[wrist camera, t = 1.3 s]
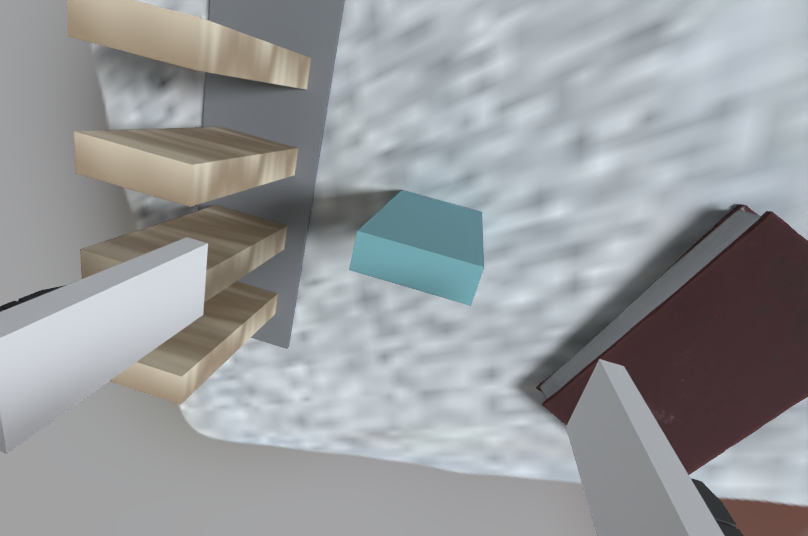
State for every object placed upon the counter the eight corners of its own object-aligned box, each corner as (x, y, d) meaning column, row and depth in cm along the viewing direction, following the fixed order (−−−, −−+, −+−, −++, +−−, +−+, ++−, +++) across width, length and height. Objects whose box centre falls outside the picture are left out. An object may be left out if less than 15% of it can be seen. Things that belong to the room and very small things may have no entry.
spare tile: (401, 189, 30) (357, 230, 19) (481, 212, 30) (484, 267, 19) (395, 215, 31) (349, 269, 20) (473, 237, 31) (470, 305, 19)
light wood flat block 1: (228, 36, 28) (65, -17, 17) (311, 58, 28) (199, 17, 17) (226, 68, 29) (68, 36, 18) (306, 89, 29) (196, 70, 17)
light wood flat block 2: (216, 205, 33) (80, 249, 22) (287, 225, 32) (186, 281, 21) (214, 228, 33) (82, 283, 22) (284, 249, 33) (184, 315, 22)
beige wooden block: (221, 127, 30) (73, 131, 19) (298, 148, 30) (192, 164, 19) (219, 154, 31) (76, 173, 20) (294, 175, 31) (189, 206, 20)
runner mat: (219, -110, 26) (216, -114, 25) (357, -78, 25) (355, -81, 25) (194, 316, 37) (192, 318, 37) (288, 346, 36) (286, 348, 36)
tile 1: (211, 273, 35) (85, 345, 24) (277, 293, 34) (181, 376, 23) (209, 294, 36) (87, 373, 24) (275, 314, 35) (180, 404, 24)
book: (876, 312, 28) (924, 335, 25) (649, 469, 35) (665, 502, 32) (738, 198, 27) (770, 208, 24) (534, 383, 34) (539, 408, 31)
